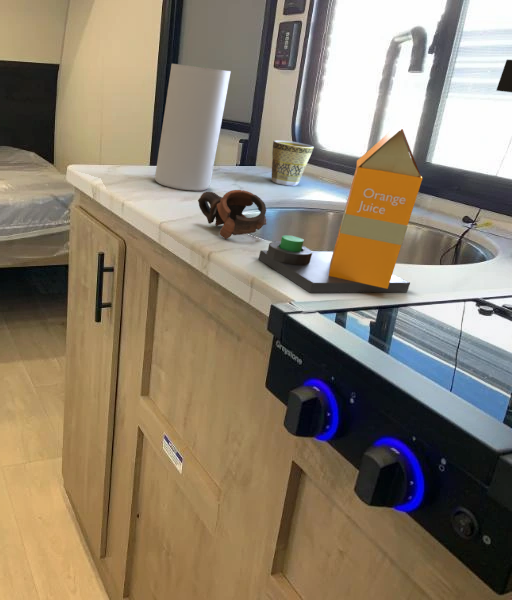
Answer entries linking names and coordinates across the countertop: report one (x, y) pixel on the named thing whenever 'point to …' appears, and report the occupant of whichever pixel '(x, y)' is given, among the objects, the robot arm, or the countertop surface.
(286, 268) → the scale
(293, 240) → the button
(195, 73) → the cylinder vase
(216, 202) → the broken mug
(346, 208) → the orange juice
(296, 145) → the ceramic cup
